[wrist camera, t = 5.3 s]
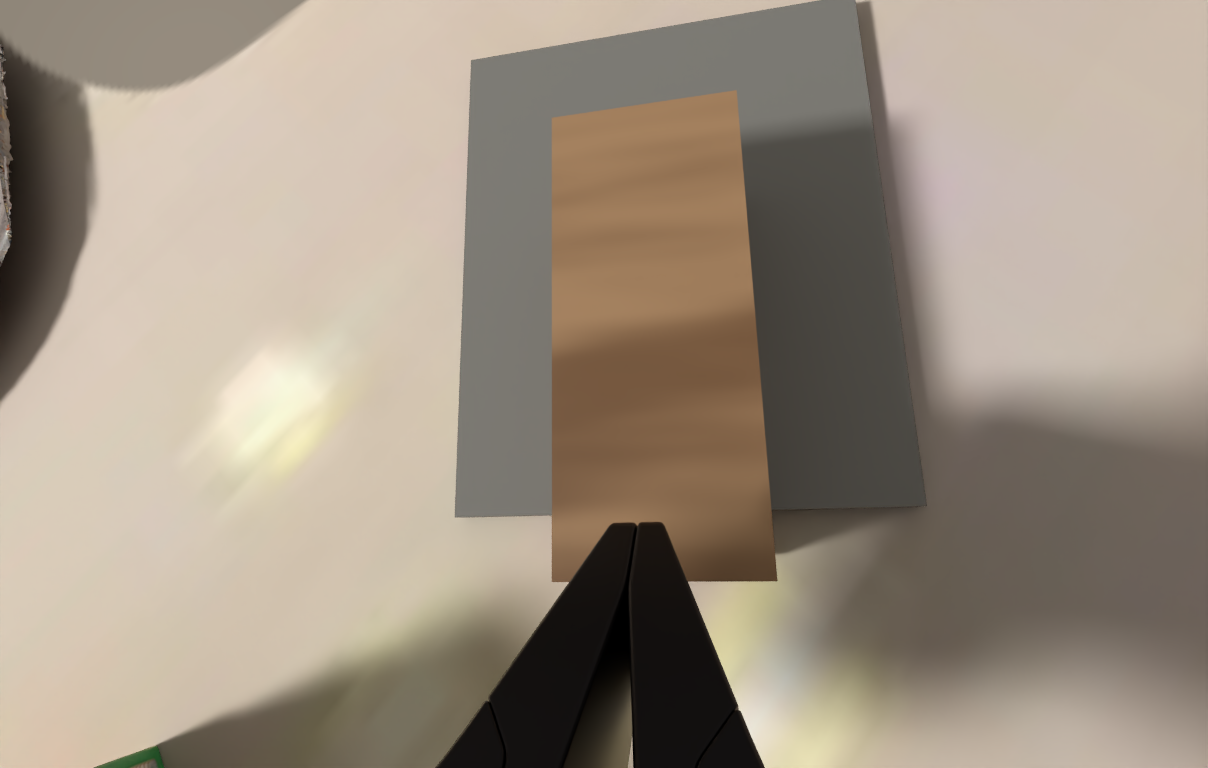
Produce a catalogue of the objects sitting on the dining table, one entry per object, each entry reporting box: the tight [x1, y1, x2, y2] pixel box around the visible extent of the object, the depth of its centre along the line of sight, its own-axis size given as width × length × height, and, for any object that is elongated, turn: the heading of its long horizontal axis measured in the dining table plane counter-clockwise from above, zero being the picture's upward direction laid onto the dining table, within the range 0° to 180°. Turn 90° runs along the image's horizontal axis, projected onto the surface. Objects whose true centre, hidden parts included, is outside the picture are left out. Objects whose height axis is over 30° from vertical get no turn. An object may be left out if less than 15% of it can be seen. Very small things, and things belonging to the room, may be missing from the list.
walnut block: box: [552, 90, 777, 582], centre depth 15 cm, size 4×4×11 cm
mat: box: [455, 0, 927, 517], centre depth 19 cm, size 16×13×1 cm
